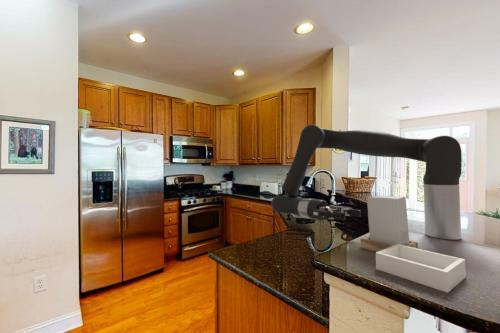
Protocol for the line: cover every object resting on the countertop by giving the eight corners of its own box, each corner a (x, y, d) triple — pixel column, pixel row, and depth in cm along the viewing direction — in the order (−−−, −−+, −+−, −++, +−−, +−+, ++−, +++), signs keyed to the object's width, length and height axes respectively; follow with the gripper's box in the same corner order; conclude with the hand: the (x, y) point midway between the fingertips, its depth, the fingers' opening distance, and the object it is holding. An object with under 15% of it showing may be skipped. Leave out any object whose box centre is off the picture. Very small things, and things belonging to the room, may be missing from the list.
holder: (376, 241, 71) (376, 233, 71) (418, 251, 62) (417, 242, 62) (360, 247, 66) (360, 238, 66) (403, 258, 57) (402, 248, 57)
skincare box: (410, 251, 62) (408, 196, 63) (399, 256, 59) (398, 198, 59) (378, 243, 69) (377, 194, 70) (367, 247, 66) (366, 195, 66)
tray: (398, 258, 57) (397, 244, 57) (465, 277, 47) (465, 259, 47) (376, 268, 51) (375, 252, 51) (447, 292, 41) (447, 272, 41)
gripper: (299, 200, 83) (339, 205, 69) (324, 197, 90) (364, 201, 77) (299, 221, 82) (339, 230, 69) (325, 216, 90) (365, 224, 77)
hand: (352, 215), depth 73 cm, fingers open, 8 cm apart
